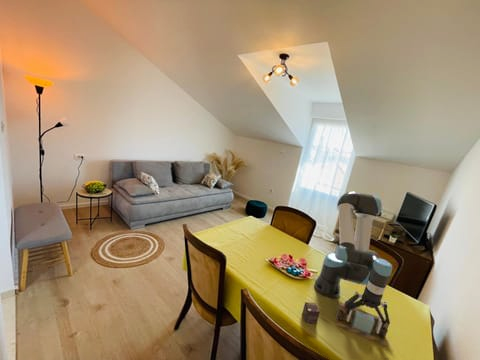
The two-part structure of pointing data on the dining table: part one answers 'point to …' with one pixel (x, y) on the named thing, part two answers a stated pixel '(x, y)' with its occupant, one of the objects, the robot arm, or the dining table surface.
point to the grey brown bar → (343, 315)
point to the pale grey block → (363, 322)
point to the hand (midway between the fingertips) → (361, 325)
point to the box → (310, 312)
